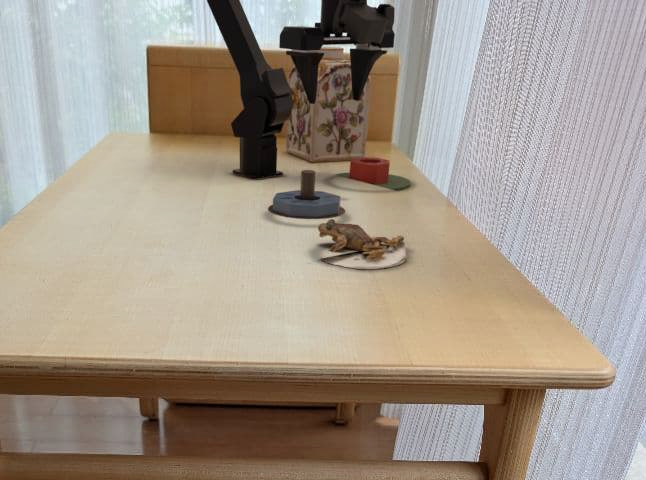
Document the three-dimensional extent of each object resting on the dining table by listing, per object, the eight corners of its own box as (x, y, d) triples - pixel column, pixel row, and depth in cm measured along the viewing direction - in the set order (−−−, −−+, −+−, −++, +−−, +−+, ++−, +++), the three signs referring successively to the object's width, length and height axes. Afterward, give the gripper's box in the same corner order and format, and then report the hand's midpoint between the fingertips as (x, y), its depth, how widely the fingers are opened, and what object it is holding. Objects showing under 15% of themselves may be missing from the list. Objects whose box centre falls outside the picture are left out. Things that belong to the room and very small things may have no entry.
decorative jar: (311, 163, 150) (316, 49, 140) (283, 152, 159) (287, 44, 149) (367, 159, 154) (376, 48, 144) (337, 149, 163) (344, 44, 153)
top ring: (341, 179, 137) (342, 159, 135) (369, 175, 140) (371, 156, 138) (367, 185, 132) (369, 165, 131) (395, 181, 136) (397, 162, 134)
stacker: (252, 213, 117) (252, 168, 113) (311, 204, 122) (313, 161, 119) (300, 230, 110) (302, 182, 106) (361, 219, 115) (364, 174, 112)
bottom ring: (261, 206, 116) (261, 195, 115) (311, 199, 121) (311, 187, 120) (301, 220, 110) (302, 207, 109) (352, 211, 115) (353, 199, 114)
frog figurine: (307, 266, 96) (309, 232, 94) (319, 240, 106) (320, 208, 103) (405, 272, 94) (409, 238, 92) (408, 245, 104) (411, 214, 102)
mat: (309, 179, 138) (309, 177, 137) (370, 171, 145) (370, 169, 144) (365, 195, 128) (366, 192, 128) (428, 185, 135) (428, 183, 135)
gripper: (329, -19, 110) (322, 111, 119) (426, -16, 119) (413, 104, 128) (278, -20, 117) (275, 103, 126) (373, -18, 126) (364, 96, 135)
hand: (334, 102), depth 129 cm, fingers open, 9 cm apart
